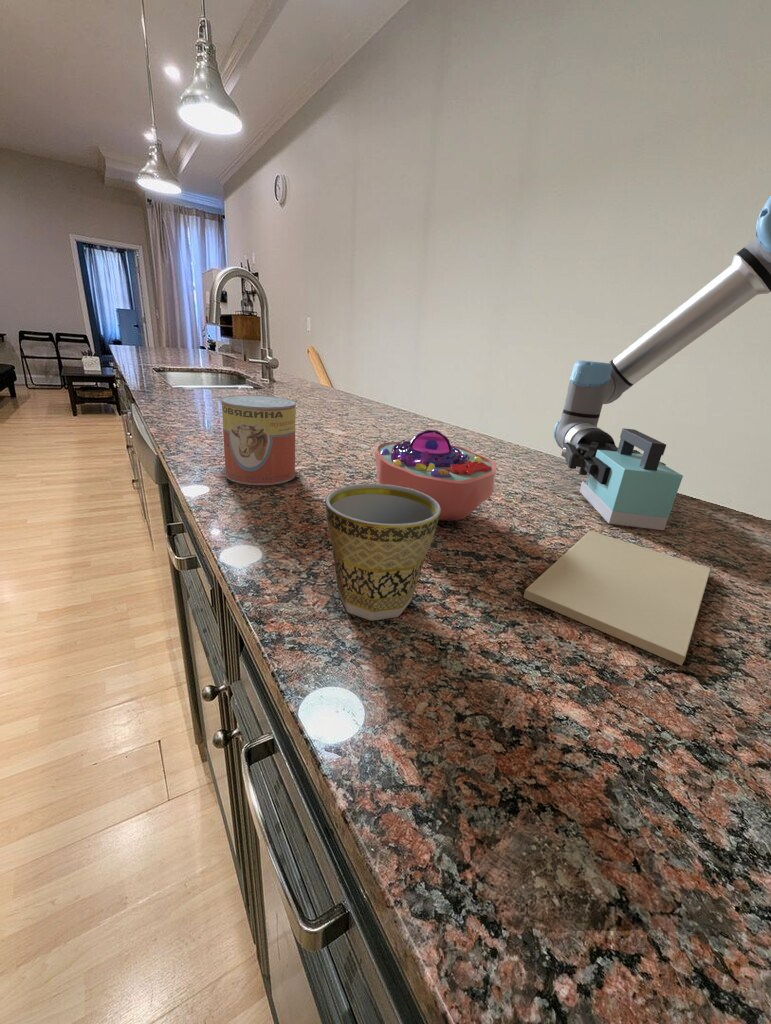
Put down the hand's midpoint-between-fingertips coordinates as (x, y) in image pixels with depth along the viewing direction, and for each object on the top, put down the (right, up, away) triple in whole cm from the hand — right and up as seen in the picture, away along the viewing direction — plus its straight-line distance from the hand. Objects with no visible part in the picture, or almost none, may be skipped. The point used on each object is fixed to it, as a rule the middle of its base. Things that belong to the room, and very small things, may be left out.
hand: (635, 479), depth 68 cm
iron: (0, -4, +5) cm, 7 cm away
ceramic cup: (-39, -13, -25) cm, 48 cm away
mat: (-12, -13, -19) cm, 26 cm away
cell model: (-32, -5, -4) cm, 33 cm away
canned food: (-59, +1, +6) cm, 59 cm away
